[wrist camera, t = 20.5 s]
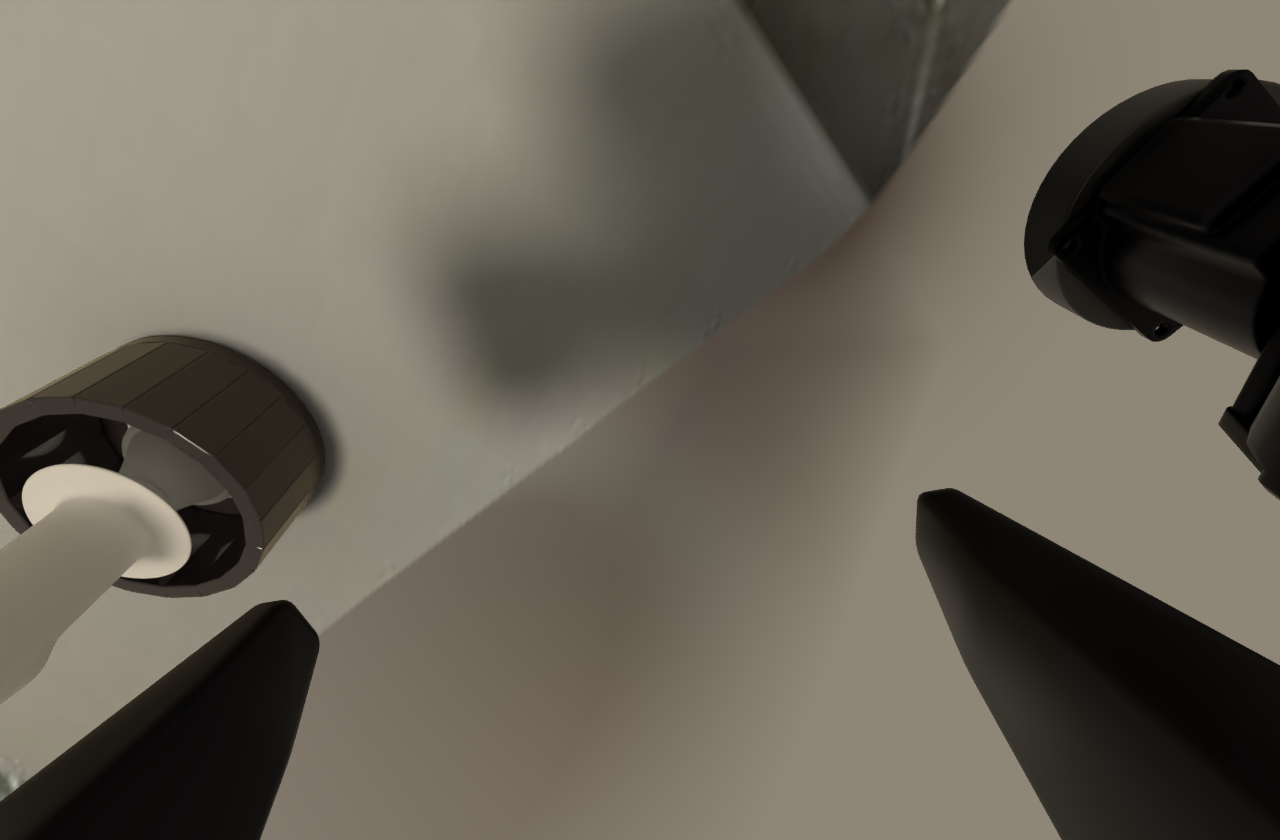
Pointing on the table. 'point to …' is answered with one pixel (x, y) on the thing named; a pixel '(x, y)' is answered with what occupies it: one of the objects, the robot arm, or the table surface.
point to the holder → (192, 422)
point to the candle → (92, 543)
